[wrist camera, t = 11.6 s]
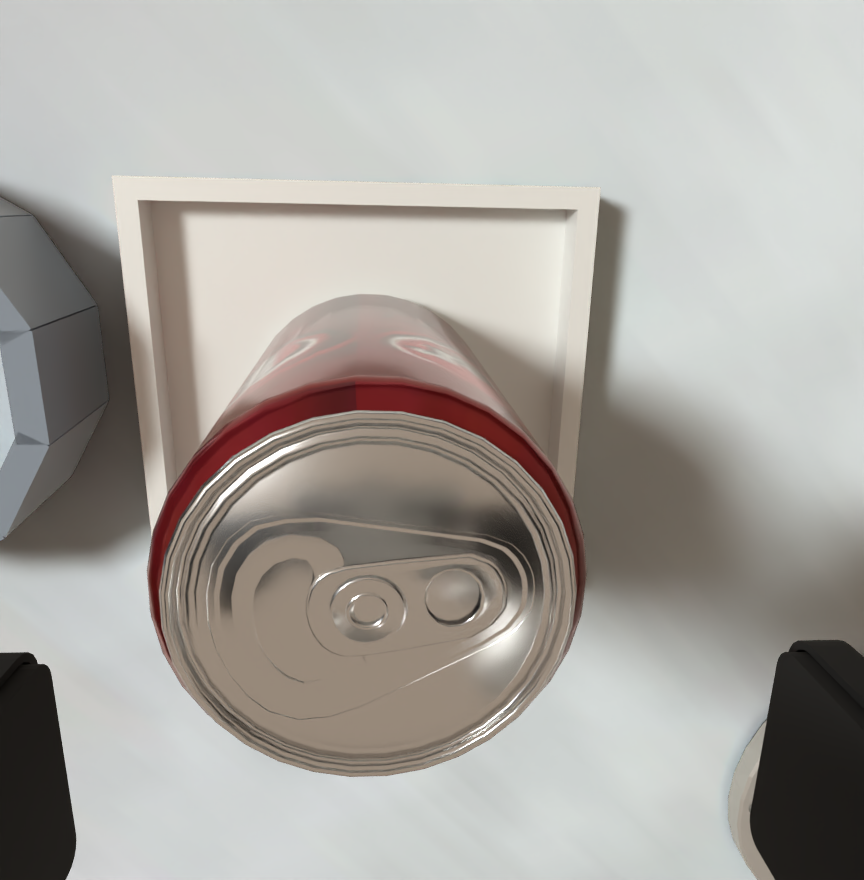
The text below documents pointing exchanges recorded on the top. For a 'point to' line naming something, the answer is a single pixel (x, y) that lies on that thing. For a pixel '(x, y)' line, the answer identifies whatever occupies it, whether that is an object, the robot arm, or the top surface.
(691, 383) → the top surface
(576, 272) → the tray
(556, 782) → the top surface
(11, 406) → the holder
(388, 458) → the soda can
